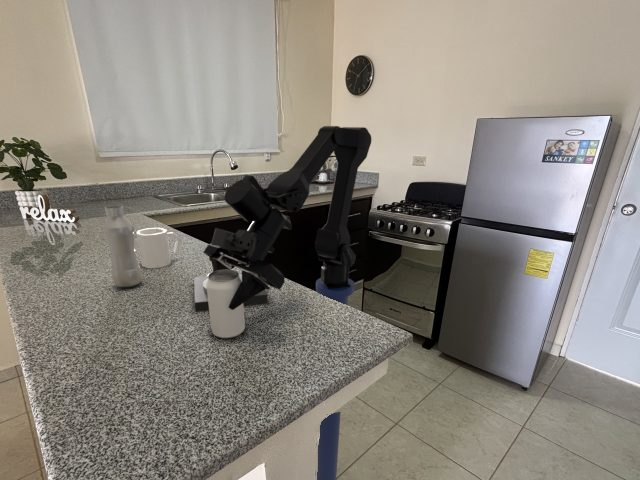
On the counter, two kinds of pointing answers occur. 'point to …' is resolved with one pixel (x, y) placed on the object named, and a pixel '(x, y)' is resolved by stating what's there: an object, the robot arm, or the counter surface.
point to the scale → (202, 296)
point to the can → (224, 304)
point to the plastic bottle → (121, 247)
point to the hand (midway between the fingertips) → (219, 303)
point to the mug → (156, 247)
